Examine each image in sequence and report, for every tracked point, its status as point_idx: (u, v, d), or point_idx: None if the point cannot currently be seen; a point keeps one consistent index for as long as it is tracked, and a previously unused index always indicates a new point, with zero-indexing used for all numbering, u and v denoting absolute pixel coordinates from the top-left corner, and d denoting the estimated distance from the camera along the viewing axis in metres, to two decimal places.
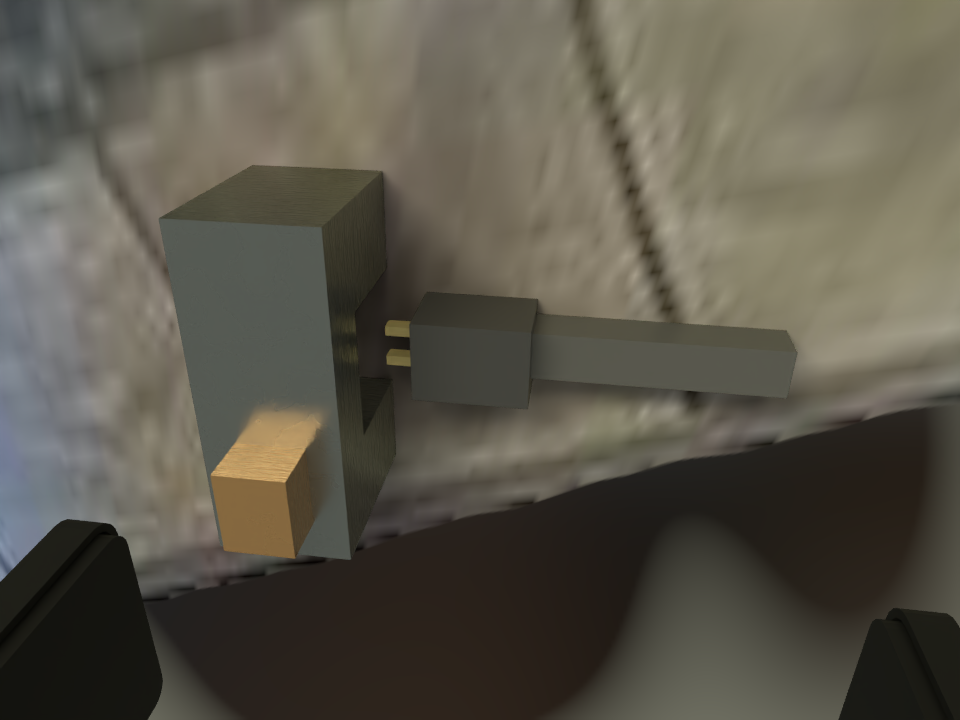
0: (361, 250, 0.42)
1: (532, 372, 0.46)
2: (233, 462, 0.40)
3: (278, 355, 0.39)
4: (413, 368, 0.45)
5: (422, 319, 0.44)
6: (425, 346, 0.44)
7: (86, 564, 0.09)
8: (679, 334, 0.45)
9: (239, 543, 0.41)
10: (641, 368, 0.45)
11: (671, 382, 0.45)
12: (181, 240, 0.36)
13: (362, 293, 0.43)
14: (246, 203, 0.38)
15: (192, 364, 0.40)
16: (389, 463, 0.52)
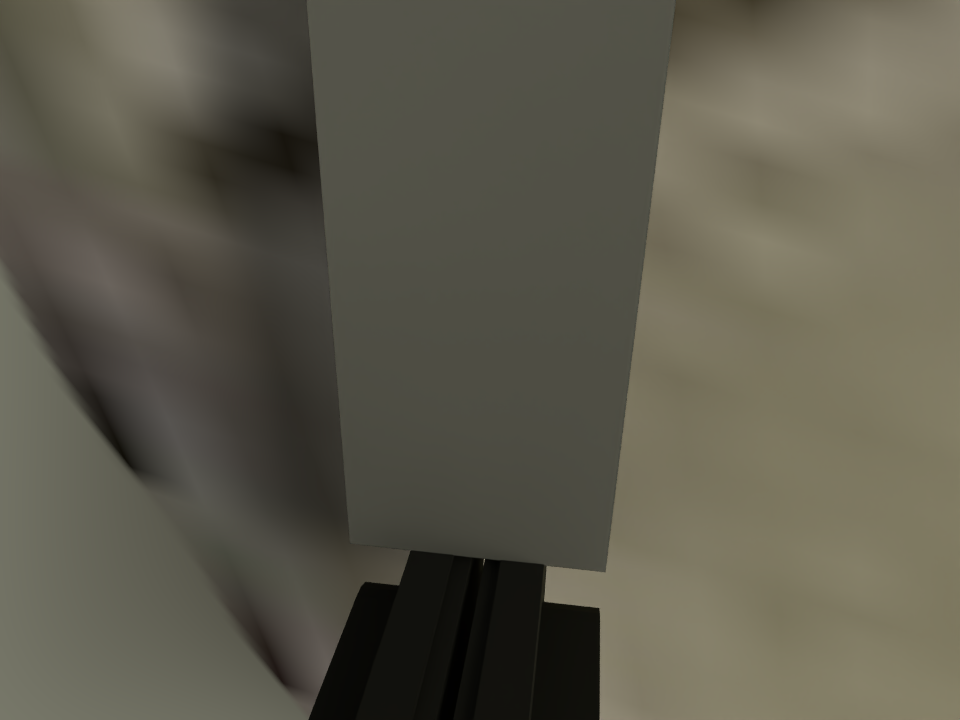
0: None
1: None
2: None
3: None
4: None
5: None
6: None
7: None
8: None
9: None
10: None
11: None
12: None
13: None
14: None
15: None
16: None
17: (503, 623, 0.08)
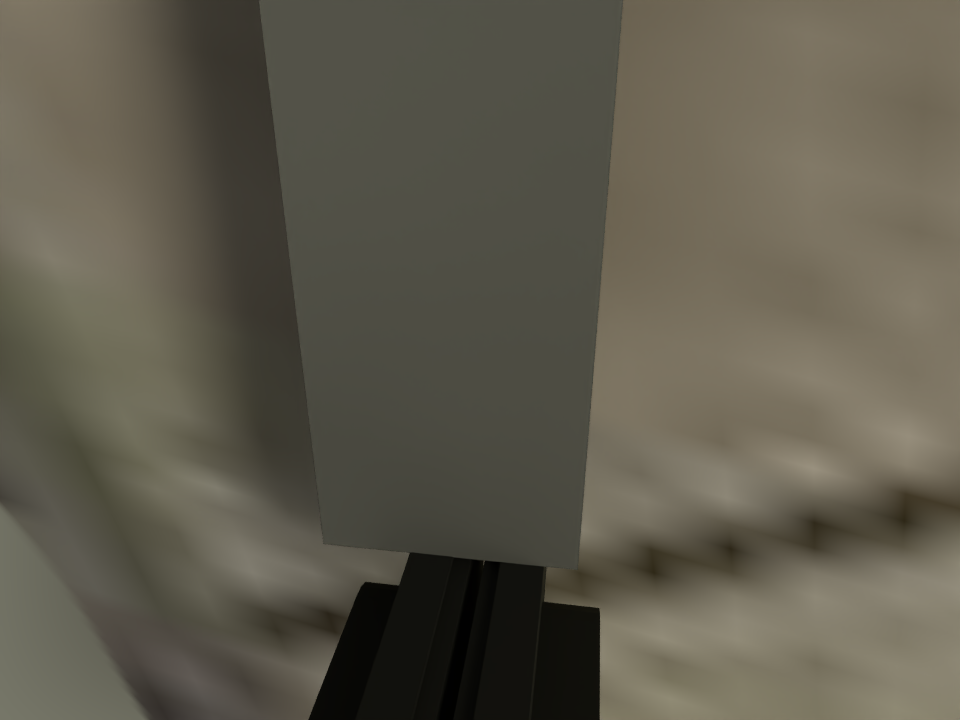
0: None
1: None
2: None
3: None
4: None
5: None
6: None
7: None
8: None
9: None
10: None
11: None
12: None
13: None
14: None
15: None
16: None
17: (503, 623, 0.08)
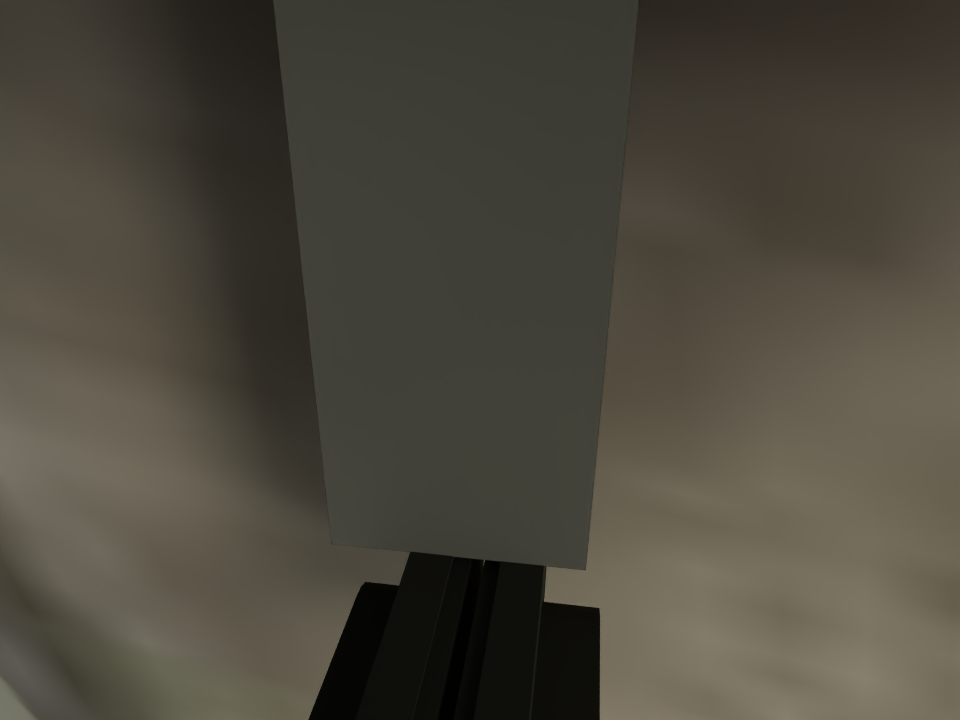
0: None
1: None
2: None
3: None
4: None
5: None
6: None
7: None
8: None
9: None
10: None
11: None
12: None
13: None
14: None
15: None
16: None
17: (503, 623, 0.08)
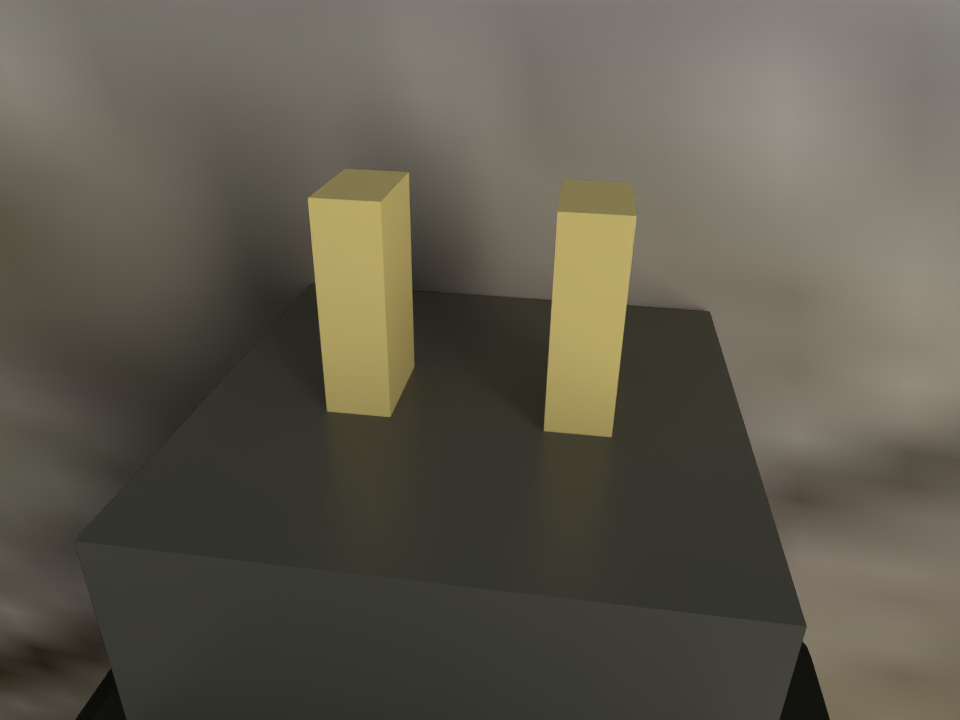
0: None
1: None
2: None
3: None
4: (369, 593, 0.05)
5: None
6: (577, 700, 0.05)
7: None
8: None
9: None
10: None
11: None
12: None
13: None
14: None
15: None
16: None
17: None
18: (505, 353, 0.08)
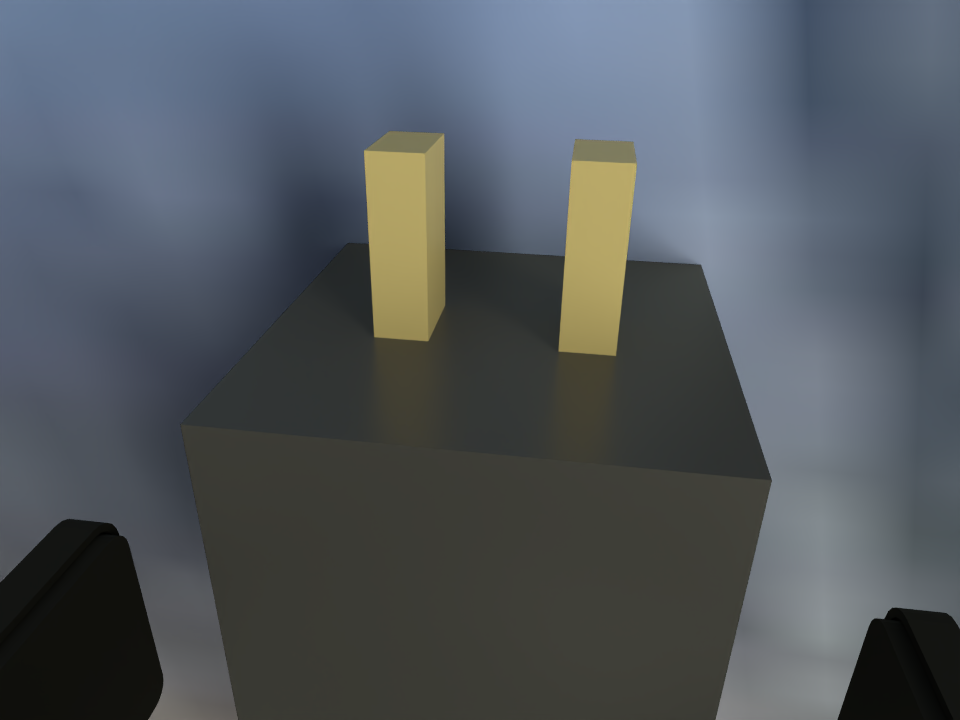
0: None
1: None
2: None
3: None
4: (421, 463, 0.06)
5: None
6: (588, 553, 0.07)
7: (87, 564, 0.09)
8: None
9: None
10: None
11: None
12: None
13: None
14: None
15: None
16: None
17: None
18: (522, 295, 0.09)
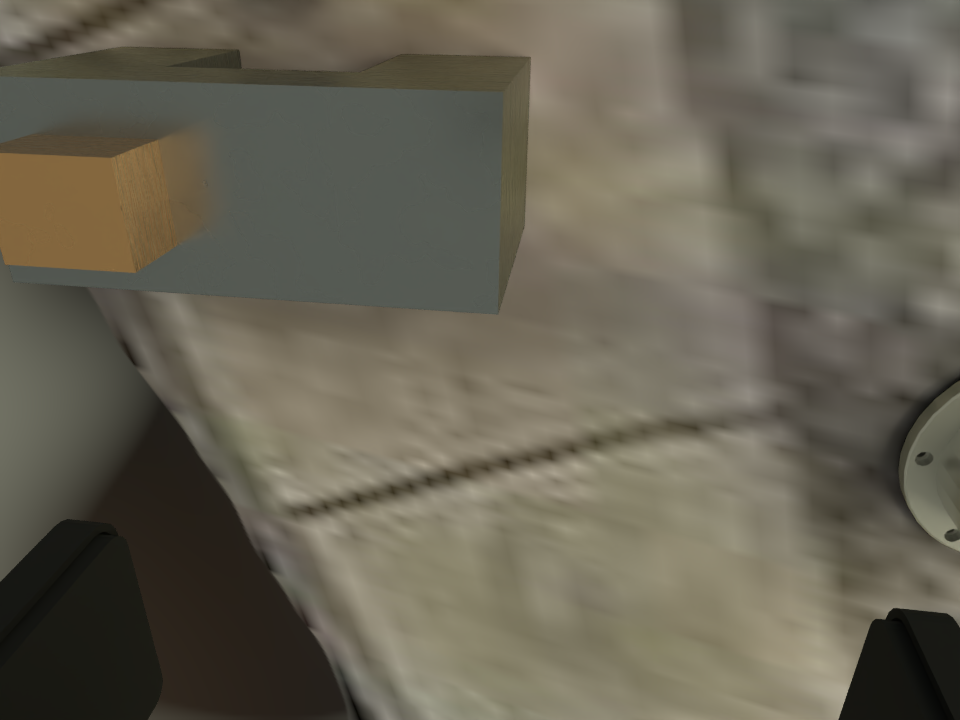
0: None
1: None
2: (135, 170, 0.26)
3: (316, 232, 0.28)
4: None
5: None
6: None
7: (86, 564, 0.09)
8: None
9: None
10: None
11: None
12: (471, 121, 0.26)
13: None
14: (510, 162, 0.29)
15: (277, 95, 0.26)
16: None
17: None
18: None
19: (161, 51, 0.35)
